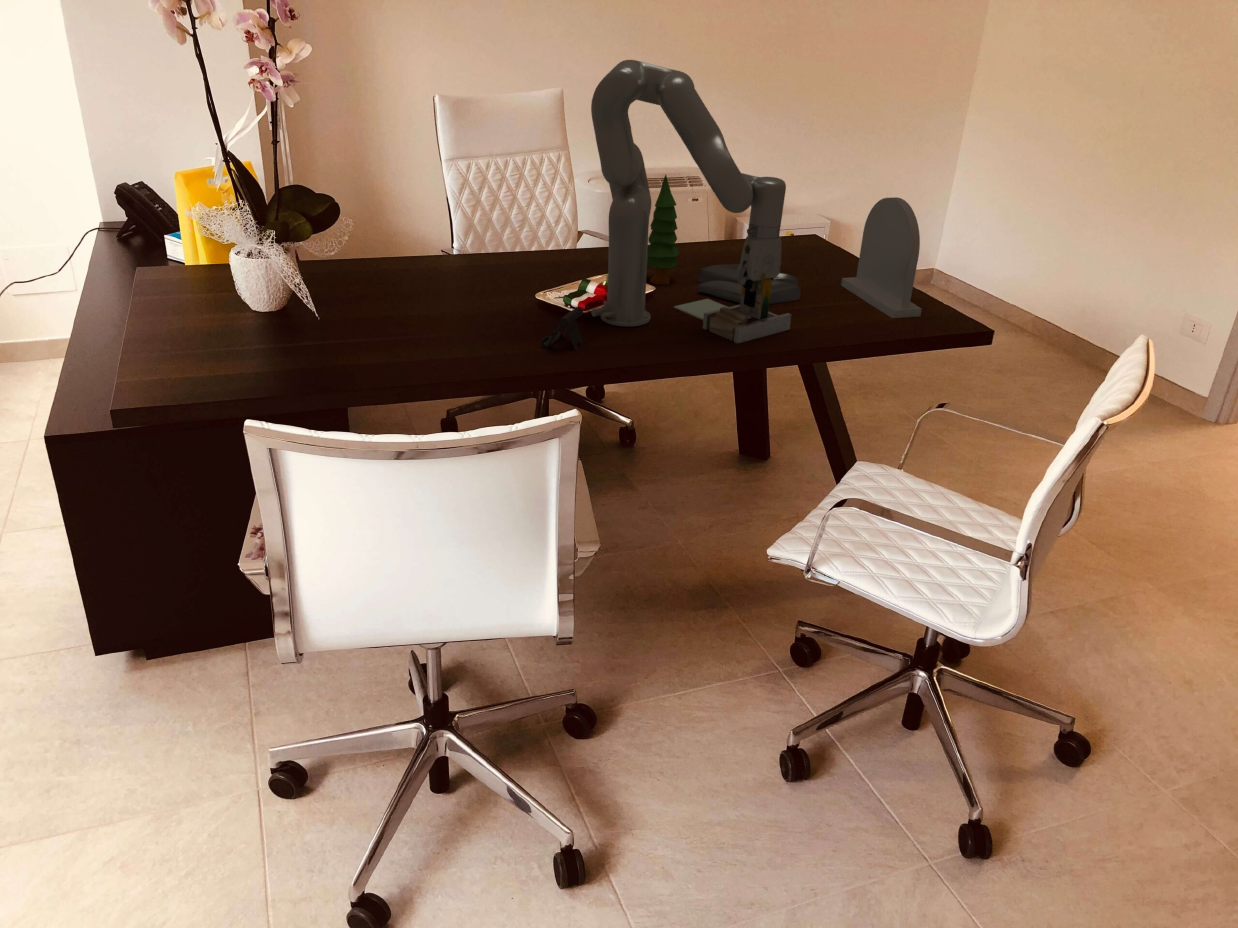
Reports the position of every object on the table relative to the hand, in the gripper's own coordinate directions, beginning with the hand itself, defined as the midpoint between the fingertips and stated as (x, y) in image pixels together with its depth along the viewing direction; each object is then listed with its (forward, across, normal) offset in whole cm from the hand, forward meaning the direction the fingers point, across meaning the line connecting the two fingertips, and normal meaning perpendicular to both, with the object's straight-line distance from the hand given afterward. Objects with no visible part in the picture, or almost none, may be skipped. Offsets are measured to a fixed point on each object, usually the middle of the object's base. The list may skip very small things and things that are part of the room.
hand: (754, 304), depth 240 cm
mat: (+6, -1, +15) cm, 17 cm away
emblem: (+7, +20, +21) cm, 30 cm away
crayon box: (+3, 0, 0) cm, 3 cm away
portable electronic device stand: (+7, -46, +15) cm, 49 cm away
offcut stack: (+6, -9, -1) cm, 11 cm away
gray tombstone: (+5, +45, -4) cm, 46 cm away
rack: (+6, -2, -1) cm, 6 cm away
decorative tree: (+7, +5, +41) cm, 42 cm away
